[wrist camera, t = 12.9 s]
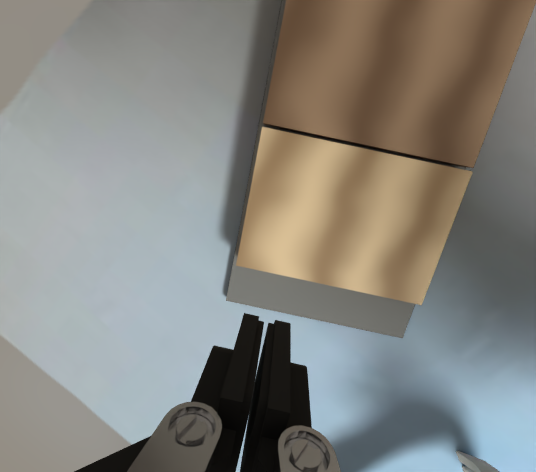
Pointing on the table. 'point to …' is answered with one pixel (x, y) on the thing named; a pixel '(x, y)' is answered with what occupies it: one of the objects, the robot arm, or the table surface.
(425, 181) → the oak plank
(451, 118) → the floor section
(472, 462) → the hammer
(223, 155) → the table surface
